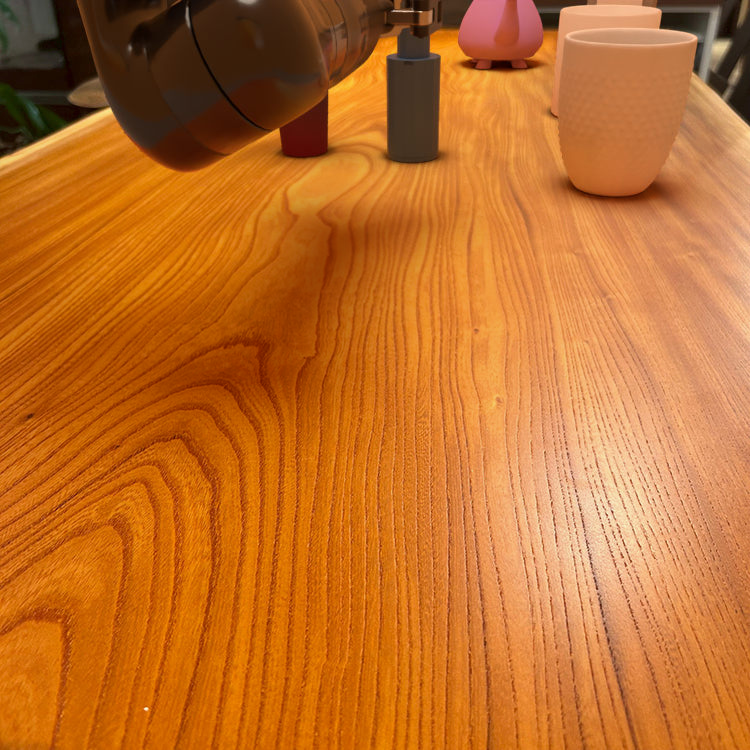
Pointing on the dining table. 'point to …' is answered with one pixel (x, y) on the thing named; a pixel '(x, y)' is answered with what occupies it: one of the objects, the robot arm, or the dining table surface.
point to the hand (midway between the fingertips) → (365, 2)
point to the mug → (621, 105)
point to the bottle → (413, 100)
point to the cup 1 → (307, 132)
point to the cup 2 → (598, 19)
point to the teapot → (501, 32)
